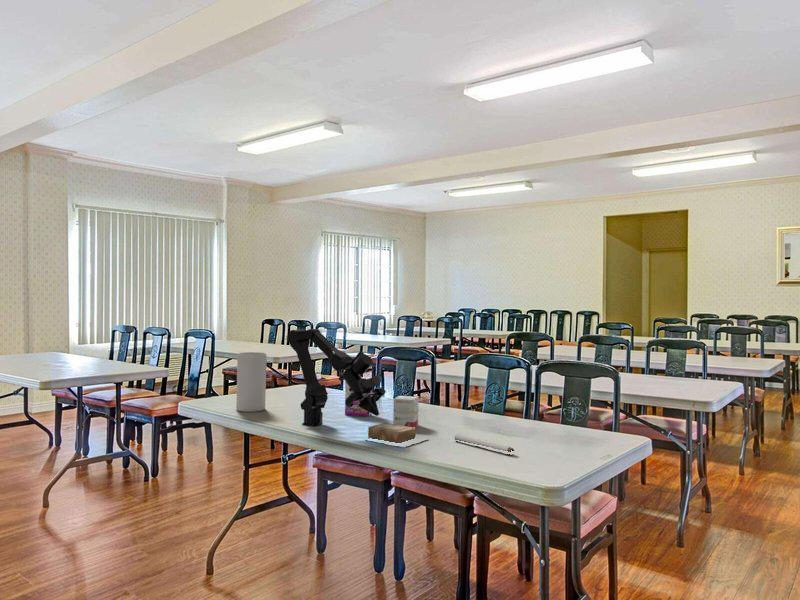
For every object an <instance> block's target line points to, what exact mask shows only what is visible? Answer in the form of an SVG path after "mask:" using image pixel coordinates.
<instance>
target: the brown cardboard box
mask: <svg viewBox="0 0 800 600" xmlns="http://www.w3.org/2000/svg"><path fill="white" fill-rule="evenodd" d="M416 428H417V427H416ZM416 428H413V427H407V426H401V425H395V424H393V423H388V422H382V423H378V424H374V425H370V426H368V430H367V433H368V435H367V439H370V438H372V439H378V440H384V441H389V442H395V443H402V442H405V441H408V440H411V439H414V438H415V437H416V431H417V430H416Z"/></svg>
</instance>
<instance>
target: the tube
mask: <svg viewBox="0 0 800 600" xmlns="http://www.w3.org/2000/svg"><path fill="white" fill-rule="evenodd" d="M454 439H455V440H459V441H464V442H468V443H473V444H477V445H482V446H486V447H491V448H494V449H498V450H503V451H508V452H511V450H512V451H514V452H515V449H514V448H513V447H511V446H508V445H504V444H500V443H498V442H497V443H496V442H492V441H488V440H484V439H480V438H476V437H473V436H470V435H469V436H468V435H465V434H460V433H456V434H455V435H454ZM455 440H454V441H455Z"/></svg>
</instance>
